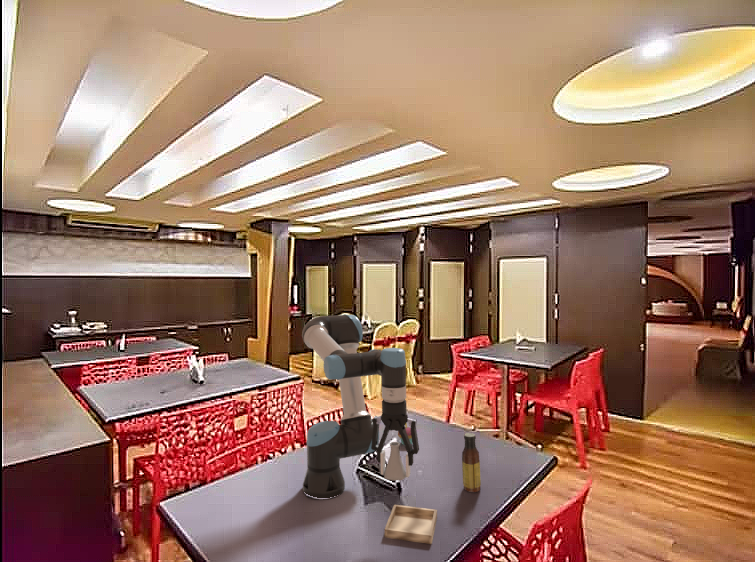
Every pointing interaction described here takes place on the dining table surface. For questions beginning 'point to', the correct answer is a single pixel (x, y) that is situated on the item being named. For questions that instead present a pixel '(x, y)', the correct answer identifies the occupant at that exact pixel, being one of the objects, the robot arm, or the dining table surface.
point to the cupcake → (408, 431)
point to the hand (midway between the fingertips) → (395, 474)
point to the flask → (395, 464)
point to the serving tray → (411, 524)
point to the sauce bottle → (471, 464)
